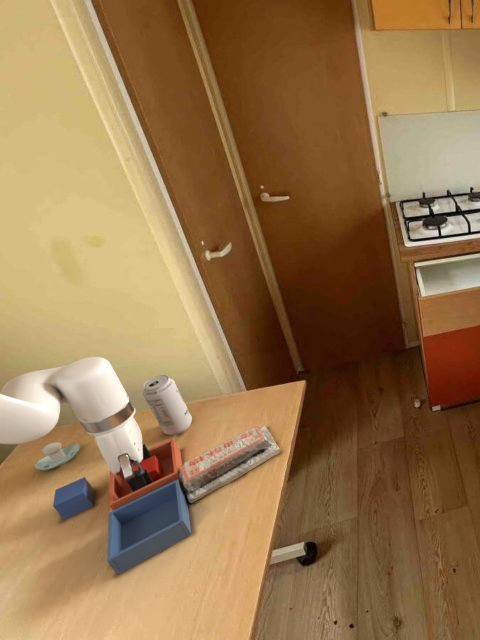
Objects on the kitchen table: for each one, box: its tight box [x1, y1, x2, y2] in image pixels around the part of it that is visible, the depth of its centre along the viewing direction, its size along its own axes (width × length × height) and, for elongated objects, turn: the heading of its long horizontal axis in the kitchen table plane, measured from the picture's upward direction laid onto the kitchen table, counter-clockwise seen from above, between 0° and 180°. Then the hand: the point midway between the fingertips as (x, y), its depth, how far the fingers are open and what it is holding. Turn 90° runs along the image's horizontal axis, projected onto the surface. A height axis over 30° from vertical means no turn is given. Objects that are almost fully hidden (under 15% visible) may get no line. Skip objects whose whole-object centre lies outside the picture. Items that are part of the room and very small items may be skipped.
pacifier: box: [34, 442, 80, 471], centre depth 96 cm, size 7×6×6 cm
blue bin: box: [106, 479, 192, 575], centre depth 83 cm, size 11×11×4 cm
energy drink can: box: [142, 374, 193, 436], centre depth 103 cm, size 6×6×15 cm
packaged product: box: [179, 425, 280, 504], centre depth 96 cm, size 18×5×10 cm
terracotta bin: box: [108, 438, 184, 511], centre depth 92 cm, size 11×11×4 cm
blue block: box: [52, 476, 95, 520], centre depth 87 cm, size 4×4×4 cm
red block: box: [132, 456, 164, 482], centre depth 91 cm, size 4×4×4 cm
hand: (142, 473), depth 91 cm, fingers open, 7 cm apart
